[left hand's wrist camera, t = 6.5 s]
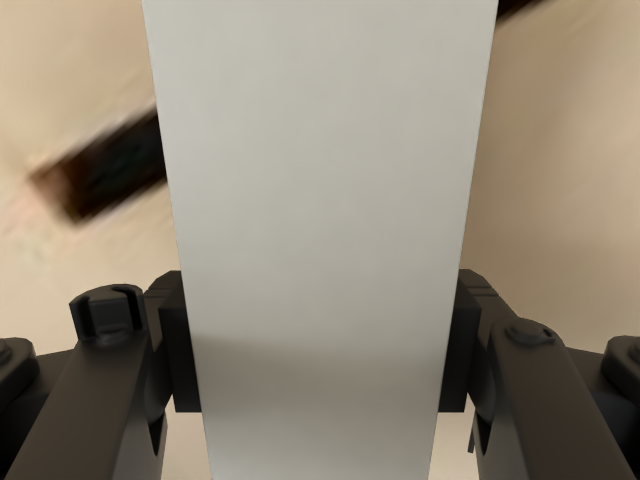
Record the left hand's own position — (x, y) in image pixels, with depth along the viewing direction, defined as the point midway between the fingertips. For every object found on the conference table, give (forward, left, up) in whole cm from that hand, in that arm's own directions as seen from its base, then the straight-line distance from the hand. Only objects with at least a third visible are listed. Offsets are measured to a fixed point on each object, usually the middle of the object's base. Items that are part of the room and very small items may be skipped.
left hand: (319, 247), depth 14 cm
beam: (+22, +5, -1) cm, 22 cm away
